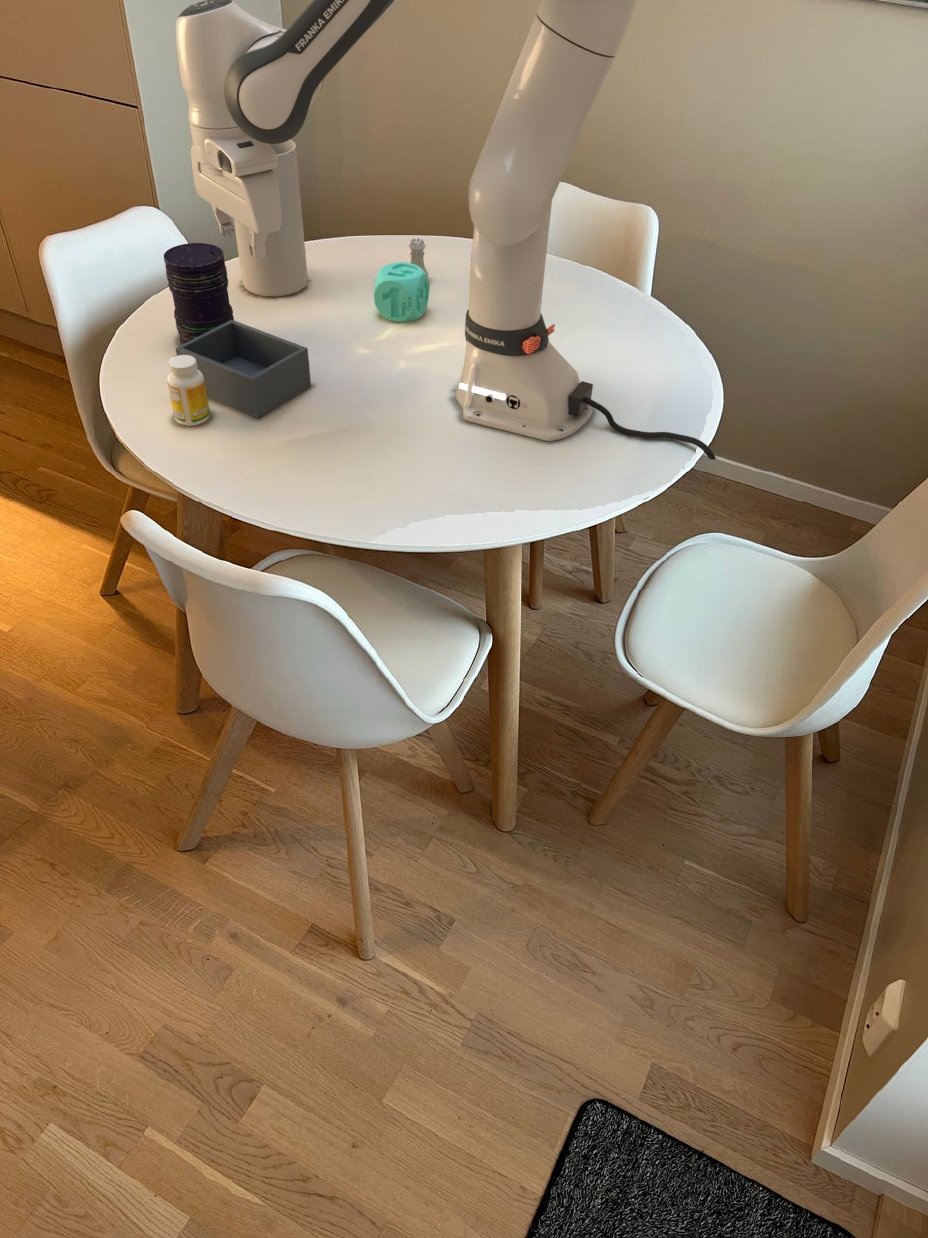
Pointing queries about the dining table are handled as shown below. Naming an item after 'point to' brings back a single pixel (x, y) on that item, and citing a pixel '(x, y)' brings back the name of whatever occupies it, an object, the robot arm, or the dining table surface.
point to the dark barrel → (198, 288)
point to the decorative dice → (401, 292)
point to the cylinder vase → (278, 237)
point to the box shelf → (249, 367)
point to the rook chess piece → (417, 253)
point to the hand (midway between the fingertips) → (243, 245)
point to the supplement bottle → (187, 391)
